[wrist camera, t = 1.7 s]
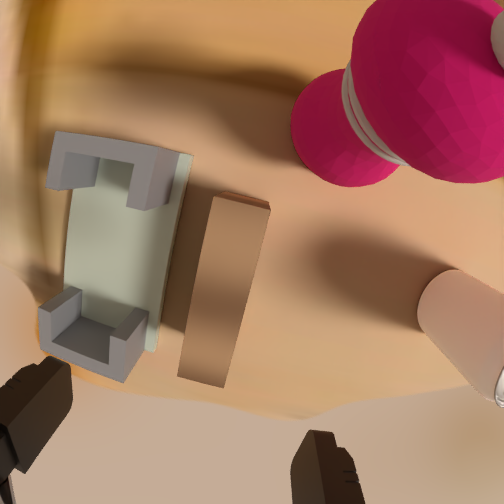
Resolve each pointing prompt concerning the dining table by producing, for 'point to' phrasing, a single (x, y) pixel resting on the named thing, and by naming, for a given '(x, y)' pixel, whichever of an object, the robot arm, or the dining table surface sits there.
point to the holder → (112, 249)
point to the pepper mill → (410, 97)
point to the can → (467, 328)
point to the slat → (222, 286)
